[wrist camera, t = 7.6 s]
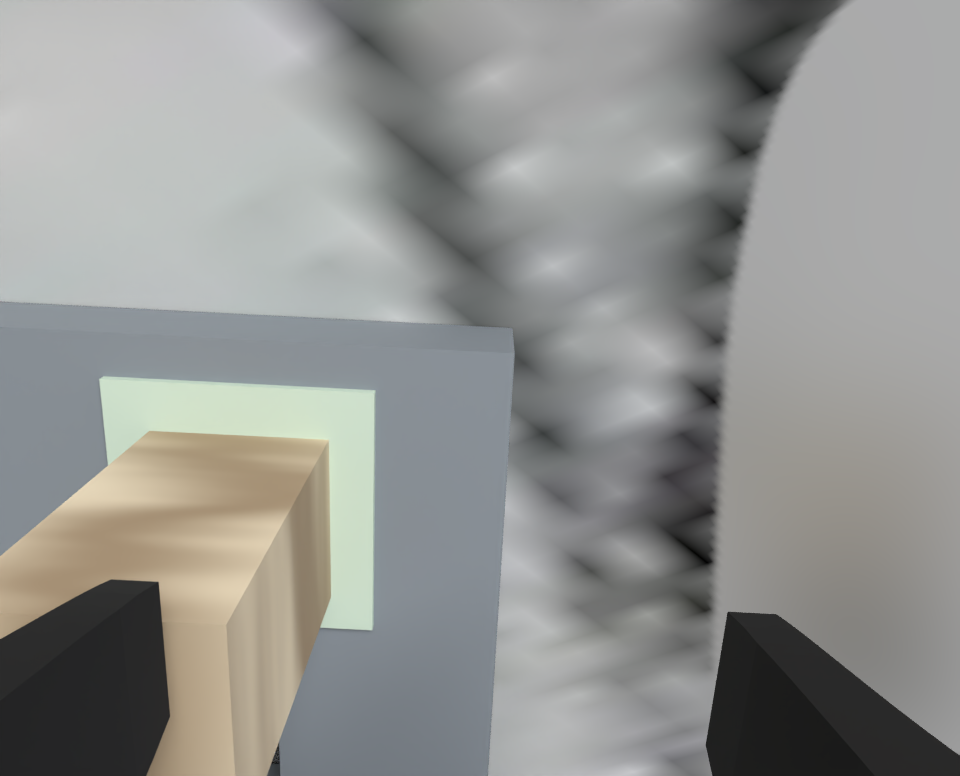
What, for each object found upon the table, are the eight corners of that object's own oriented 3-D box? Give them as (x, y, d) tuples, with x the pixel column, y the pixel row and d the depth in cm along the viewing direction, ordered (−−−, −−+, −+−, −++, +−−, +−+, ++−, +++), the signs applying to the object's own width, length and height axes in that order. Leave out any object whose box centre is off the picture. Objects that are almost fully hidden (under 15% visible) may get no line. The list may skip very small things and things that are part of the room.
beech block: (329, 439, 18) (226, 624, 11) (331, 596, 19) (239, 851, 12) (149, 430, 18) (-65, 609, 11) (163, 588, 19) (-22, 838, 12)
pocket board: (512, 327, 19) (515, 355, 17) (480, 838, 24) (478, 918, 22) (-58, 298, 19) (-139, 322, 17) (24, 813, 24) (-29, 890, 22)
